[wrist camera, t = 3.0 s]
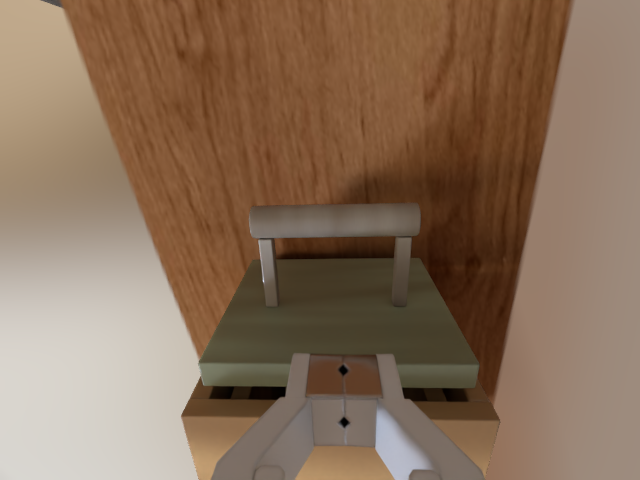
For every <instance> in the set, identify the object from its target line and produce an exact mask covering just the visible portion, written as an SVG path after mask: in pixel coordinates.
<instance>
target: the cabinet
mask: <svg viewBox="0 0 640 480" xmlns="http://www.w3.org/2000/svg"><path fill="white" fill-rule="evenodd" d="M234 387H235V386H204V385H203V382H202V378H201V377H200V379H199V381H198V383H197V385H196V387H195V389H194V391H193V393H192V395H191V397H190V399H189V401H188V403H187V405H186V407H185V409H184V411H183V413H182V415H181V419H182V422H183V426H184V429H185V433H186V437H187V440H188V444H189V447H190V450H191V454H192V457H193V461H194V465H195V468H196V472H197V475H198V479H199V480H211V478H212V475H213V472H214V469H215V466H216V463H217V461H218V460H219V459H220V458H221V457H222V456H223V455H224V454H225V453H226V452H227V451H228V450H229V449H230V448H231V447H232V446H233V445H234V444H235V443H236V442H237V441H238V440H239V439H240V438H241V437H242V436H243V435H244V434H245V433H246V432H247V431H248V430H249V428H250V427H251V426H252V425H253V424H254V423H255V422H256V421H257V420H258V419H259V418H260V417H261V416H262V415H263V414H264V413H265V412H266V411H267V410H268V409H269V408H270V407H271V406H272V405H273V404H274V403H275V402H276V401H277V400H247V399H230V398H231V396H232V393H233V390H234ZM442 390H443V393H444V395H445V398H446V401H447V402H435V401H412V402H413V403H414V404H415V405H416V406H417V407H418V408H419V409H420V410H421V411H422V412H423V413H424V414H425V415H426V416H427V417H428V418H429V419H430V420H431V421H432V422H433V423H434V424H435V425H436V426H437V427H438V428H439V429H441V430H442V431H443V432H444V433H445V434H446V435H447V436H448V437H449V438H450V439H451V440H452V441H453V442H454V443H455V444H456V445H457V446H458V447H459V448H460V449H461V450H462V451H463V452H464V453H465V454H466V455H467V456H468V457H469V458H470V459H471V460H472V461H473V462H474V463H475V464H476V465H477V466H478V467H479V468H480V469H481V470H482V472H483V475H484V477H486V474H487V470H488V466H489V462H490V458H491V455H492V451H493V447H494V443H495V439H496V436H497V432H498V428H499V424H500V419H499V417H498V415H497V413H496V411H495V409H494V408H493V406H492V404H491V402H489V399H488V397H487V395H486V393H485V392H484V390H483V388H482V386H481V384H480V382H479V380H478V378H477V380H476V385H475V388H442ZM295 480H395V479H394V477H393V476H392V474H391V473H390V471H389V470H388V468H387V467H386V465H385V463H384V462H383V460H382V459H381V457H380V456H379V454H378V453H377V451H376V450H375V448H372V447H354V446H345V444H344V446H314V449H313V451H312V452H311V454H310V456H309V457H308V459H307V460H306V462H305V464H304V465H303V467H302V468H301V470H300V472H299V473H298V475H297V476H296V478H295Z"/></svg>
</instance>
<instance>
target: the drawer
mask: <svg viewBox="0 0 640 480" xmlns="http://www.w3.org/2000/svg"><path fill="white" fill-rule="evenodd" d="M249 226H250V232H251V235H252V237H253V238H259V249H260V258H261V260H252V262H251V264H250V266H249V268H248V270H247V272H246V273H245V275H244V277H243V279H242V281H241V283H240V285H239V287H238V289H237V291H236V292H235V294H234V296H233V298H232V300H231V302H230V304H229V306H228V308H227V309H226V311H225V313H224V315H223V317H222V319H221V321H220V323H219V325H218V326H217V328H216V330H215V332H214V334H213V336H212V338H211V340H210V342H209V343H208V345H207V347H206V349H205V351H204V353H203V355H202V357H201V359H200V360H199V363H198V365H199V369H200V373H201V378H202V382H203V385H204V386H235V387H234V390H233V393H232V396H231V398H230V399H247V400H278V399H279V398H280V397H285V395H286V389H287V384H288V378H289V373H290V367H291V362H292V357H293V355H294V353H307V354H311V353H319V354H375V355H376V354H393V355H394V357H395V361H396V366H397V370H398V374H399V378H400V383H401V387H402V391H403V395H404V399H410V400H411V401H435V402H447V401H446V398H445V395H444V393H443V390H442V388H475V385H476V380H477V375H478V370H479V366H480V364H479V362H478V360H477V359H476V357H475V355H474V353H473V352H472V350H471V348H470V346H469V345H468V343H467V341H466V339H465V337H464V336H463V334H462V332H461V330H460V329H459V327H458V325H457V323H456V321H455V320H454V318H453V316H452V314H451V313H450V311H449V309H448V307H447V305H446V304H445V302H444V300H443V298H442V297H441V295H440V293H439V291H438V289H437V288H436V286H435V284H434V282H433V281H432V279H431V277H430V275H429V274H428V272H427V270H426V268H425V266H424V265H423V263H422V261H421V259H420V258H410V255H411V243H412V237H411V236H417V235H418V234H419V231H420V226H421V212H420V207H419V205H418V203H374V204H325V205H275V206H252V207H251V210H250V215H249ZM374 236H396V237H395V253H394V258H363V259H278V260H276V251H275V241H274V238H308V237H374Z"/></svg>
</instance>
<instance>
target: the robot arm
mask: <svg viewBox="0 0 640 480" xmlns="http://www.w3.org/2000/svg"><path fill="white" fill-rule="evenodd" d="M344 444H345V446H354V447H372V448H375V450H376V451H377V453H378V454H379V456H380V457H381V459H382V460H383V462H384V463H385V465H386V467H387V468H388V470H389V471H390V473H391V474H392V476H393V477H394V479H395V480H485V477H484V475H483V472H482V470H481V469H480V468H479V467H478V466H477V465H476V464H475V463H474V462H473V461H472V460H471V459H470V458H469V457H468V456H467V455H466V454H465V453H464V452H463V451H462V450H461V449H460V448H459V447H458V446H457V445H456V444H455V443H454V442H453V441H452V440H451V439H450V438H449V437H448V436H447V435H446V434H445V433H444V432H443V431H442V430H441V429H439V428H438V427H437V426H436V425H435V424H434V423H433V422H432V421H431V420H430V419H429V418H428V417H427V416H426V415H425V414H424V413H423V412H422V411H421V410H420V409H419V408H418V407H417V406H416V405H415V404H414V403H413V402H412V401H411V400H410V399H404V395H403V391H402V387H401V383H400V378H399V374H398V370H397V366H396V361H395V357H394V355H393V354H376V355H375V354H319V353H311V354H307V353H294V355H293V357H292V362H291V367H290V373H289V378H288V384H287V389H286V395H285V397H280V398H279V399H278V400H277V401H276V402H275V403H274V404H273V405H272V406H271V407H270V408H269V409H268V410H267V411H266V412H265V413H264V414H263V415H262V416H261V417H260V418H259V419H258V420H257V421H256V422H255V423H254V424H253V425H252V426H251V427H250V428H249V430H248V431H247V432H246V433H245V434H244V435H243V436H242V437H241V438H240V439H239V440H238V441H237V442H236V443H235V444H234V445H233V446H232V447H231V448H230V449H229V450H228V451H227V452H226V453H225V454H224V455H223V456H222V457H221V458H220V459H219V460H218V461H217V463H216V466H215V469H214V472H213V475H212V478H211V480H295V478H296V476H297V475H298V473H299V472H300V470H301V468H302V467H303V465H304V464H305V462H306V460H307V459H308V457H309V456H310V454H311V452H312V451H313V449H314V446H344Z"/></svg>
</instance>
